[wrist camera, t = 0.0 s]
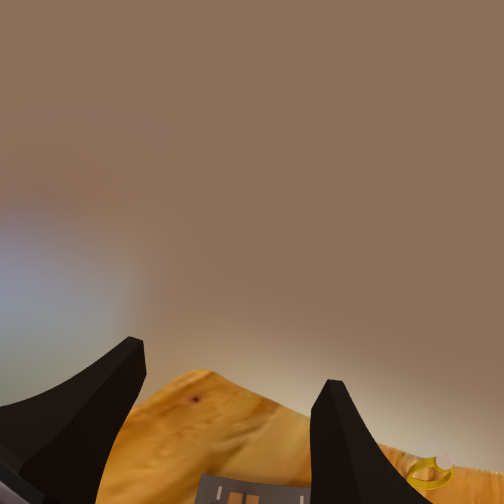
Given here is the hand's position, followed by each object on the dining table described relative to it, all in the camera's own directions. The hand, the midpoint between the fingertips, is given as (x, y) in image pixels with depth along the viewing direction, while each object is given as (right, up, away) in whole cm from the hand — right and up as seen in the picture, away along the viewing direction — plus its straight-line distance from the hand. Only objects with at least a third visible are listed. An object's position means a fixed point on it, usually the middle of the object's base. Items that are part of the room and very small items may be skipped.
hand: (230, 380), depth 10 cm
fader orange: (0, -18, +7) cm, 20 cm away
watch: (+21, -24, +11) cm, 34 cm away
